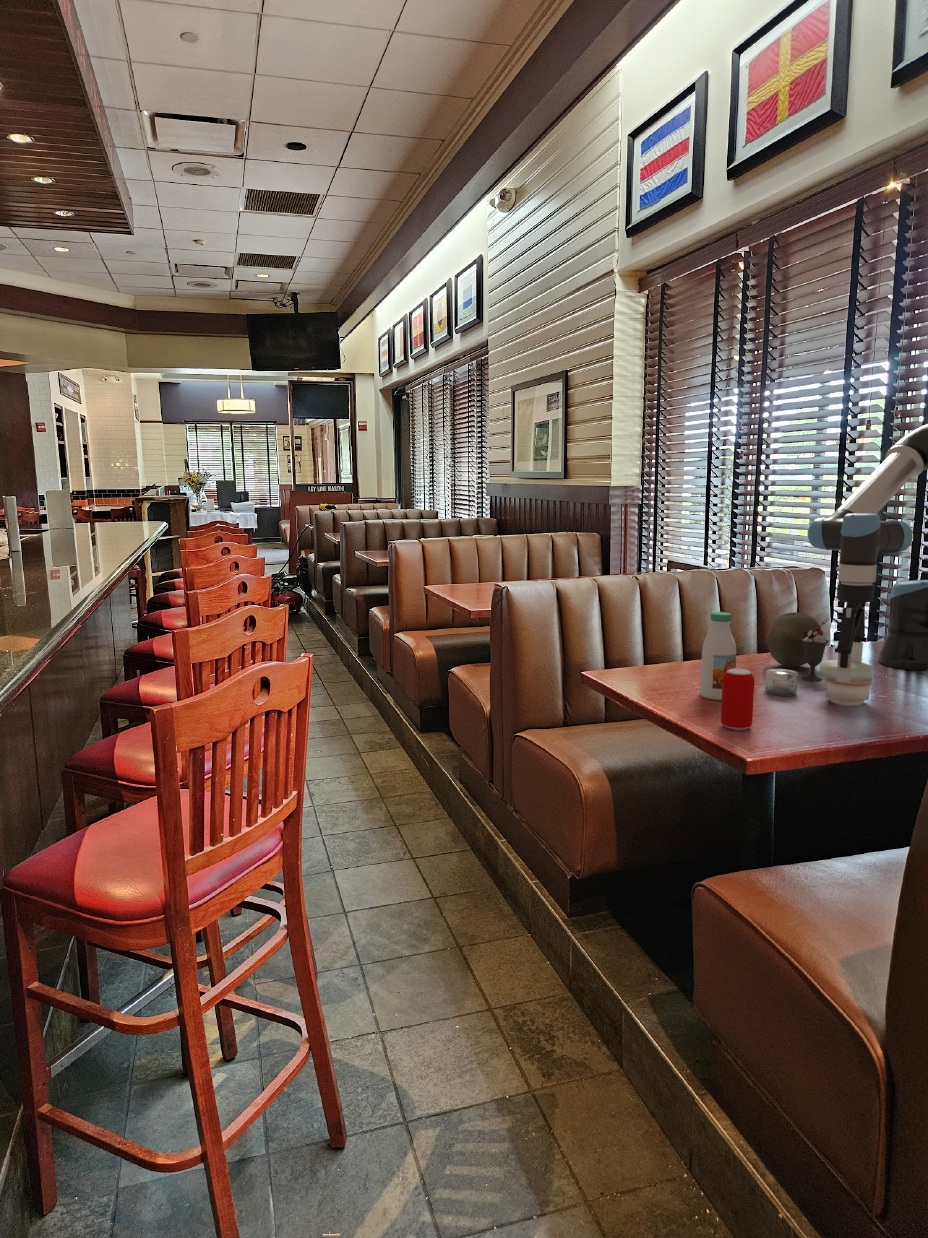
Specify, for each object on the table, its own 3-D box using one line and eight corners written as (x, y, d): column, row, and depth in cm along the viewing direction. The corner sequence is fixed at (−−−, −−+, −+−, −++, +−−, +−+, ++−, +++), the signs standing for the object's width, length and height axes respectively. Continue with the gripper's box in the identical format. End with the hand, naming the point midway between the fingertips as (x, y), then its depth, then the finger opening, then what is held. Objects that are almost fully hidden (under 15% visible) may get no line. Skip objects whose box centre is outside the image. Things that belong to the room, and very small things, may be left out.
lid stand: (784, 687, 197) (785, 668, 196) (802, 695, 190) (804, 674, 189) (759, 689, 195) (760, 669, 194) (777, 697, 188) (778, 676, 188)
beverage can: (756, 731, 164) (760, 674, 162) (727, 732, 163) (730, 675, 161) (744, 722, 170) (747, 667, 168) (715, 723, 169) (718, 668, 167)
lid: (847, 668, 191) (847, 658, 191) (883, 679, 181) (884, 668, 180) (808, 672, 188) (809, 661, 187) (843, 683, 178) (844, 672, 177)
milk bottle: (698, 699, 187) (702, 614, 184) (701, 691, 195) (705, 609, 191) (733, 702, 185) (737, 616, 181) (735, 694, 192) (739, 611, 188)
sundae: (829, 683, 201) (833, 624, 198) (800, 681, 202) (804, 623, 200) (823, 676, 207) (827, 619, 205) (795, 675, 209) (799, 618, 206)
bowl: (833, 694, 191) (835, 669, 190) (876, 702, 184) (878, 676, 183) (816, 702, 184) (818, 677, 183) (860, 710, 178) (863, 684, 177)
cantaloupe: (754, 663, 222) (757, 610, 220) (799, 660, 225) (802, 607, 223) (785, 675, 209) (789, 618, 206) (832, 672, 212) (836, 616, 209)
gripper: (848, 576, 192) (841, 662, 195) (826, 588, 172) (819, 684, 175) (883, 578, 187) (875, 666, 191) (865, 591, 167) (857, 689, 171)
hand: (848, 675), depth 183 cm, fingers open, 13 cm apart
